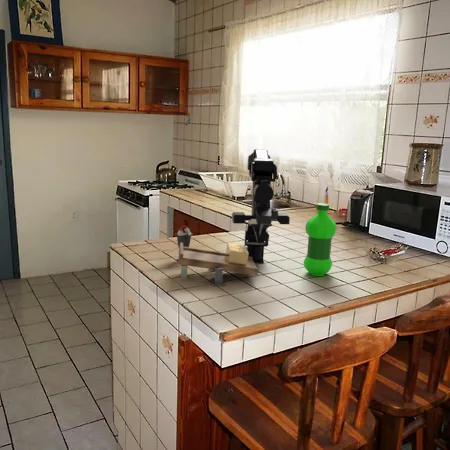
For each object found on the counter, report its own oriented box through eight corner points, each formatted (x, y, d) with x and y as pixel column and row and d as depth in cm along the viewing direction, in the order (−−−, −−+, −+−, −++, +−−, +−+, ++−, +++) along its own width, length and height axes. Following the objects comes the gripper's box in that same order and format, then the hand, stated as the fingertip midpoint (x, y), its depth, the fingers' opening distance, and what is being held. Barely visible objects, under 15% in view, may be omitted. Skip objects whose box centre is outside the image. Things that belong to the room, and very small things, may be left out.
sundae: (176, 263, 167) (176, 223, 164) (173, 257, 173) (173, 219, 170) (193, 262, 169) (194, 222, 165) (190, 257, 175) (191, 218, 172)
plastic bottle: (338, 276, 160) (345, 206, 154) (314, 280, 154) (321, 207, 149) (318, 267, 168) (324, 201, 162) (296, 271, 163) (301, 202, 157)
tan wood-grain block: (241, 258, 159) (244, 245, 158) (245, 267, 150) (248, 253, 149) (225, 256, 159) (227, 242, 158) (227, 265, 149) (230, 250, 148)
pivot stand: (219, 267, 164) (220, 252, 163) (224, 286, 146) (225, 269, 144) (180, 267, 163) (181, 252, 161) (180, 285, 144) (181, 269, 143)
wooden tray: (250, 264, 163) (252, 253, 162) (257, 277, 148) (259, 265, 148) (178, 253, 159) (180, 242, 158) (178, 266, 145) (180, 254, 144)
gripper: (236, 201, 141) (234, 249, 145) (295, 202, 143) (291, 250, 147) (232, 195, 152) (230, 240, 156) (287, 196, 154) (284, 241, 157)
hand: (258, 243), depth 153 cm, fingers closed
